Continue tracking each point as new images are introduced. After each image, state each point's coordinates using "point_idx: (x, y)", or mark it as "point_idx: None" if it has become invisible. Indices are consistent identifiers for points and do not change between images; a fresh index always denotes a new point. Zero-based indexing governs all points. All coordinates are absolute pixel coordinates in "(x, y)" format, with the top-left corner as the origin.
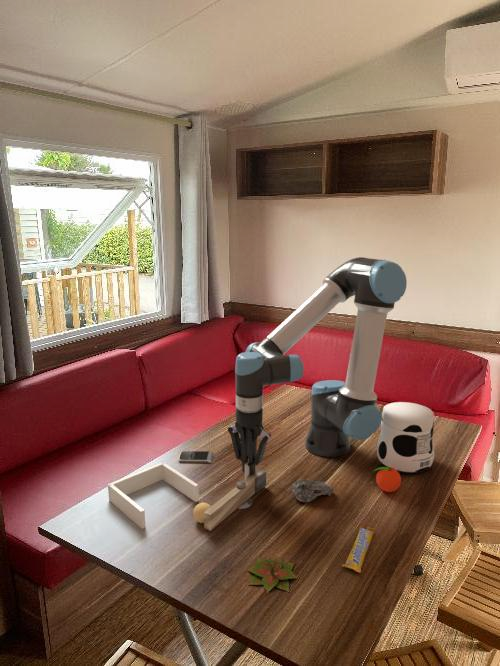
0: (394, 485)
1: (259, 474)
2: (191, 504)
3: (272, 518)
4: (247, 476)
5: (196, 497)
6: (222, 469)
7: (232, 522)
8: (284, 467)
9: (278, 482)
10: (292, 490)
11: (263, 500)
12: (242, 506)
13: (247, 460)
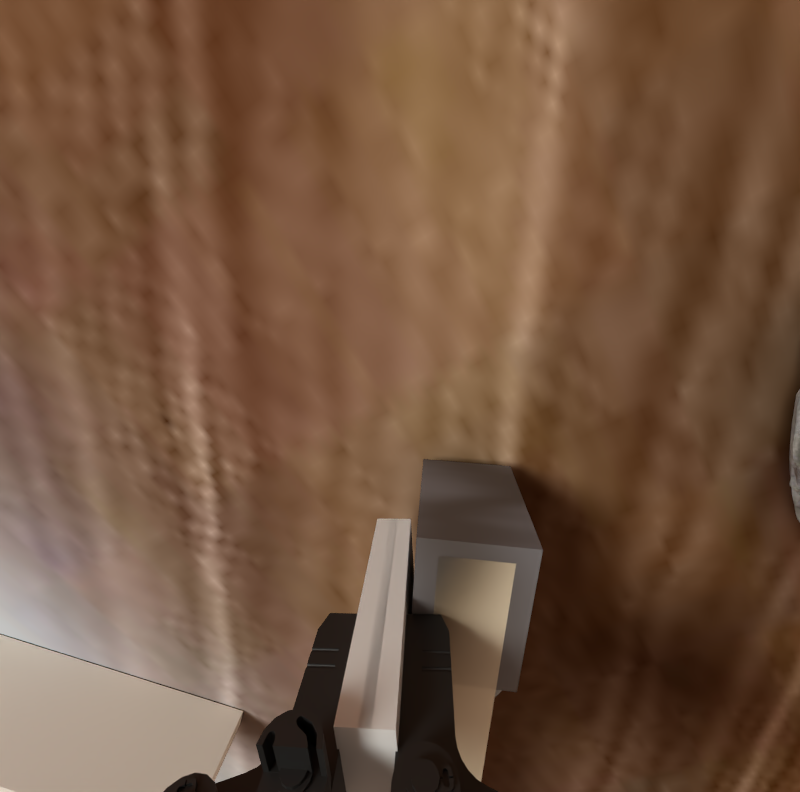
0: None
1: (502, 623)
2: (236, 737)
3: (680, 708)
4: None
5: (227, 751)
6: (97, 397)
7: (490, 781)
8: (521, 48)
9: (571, 352)
10: (795, 506)
11: (558, 593)
12: None
13: (336, 788)
